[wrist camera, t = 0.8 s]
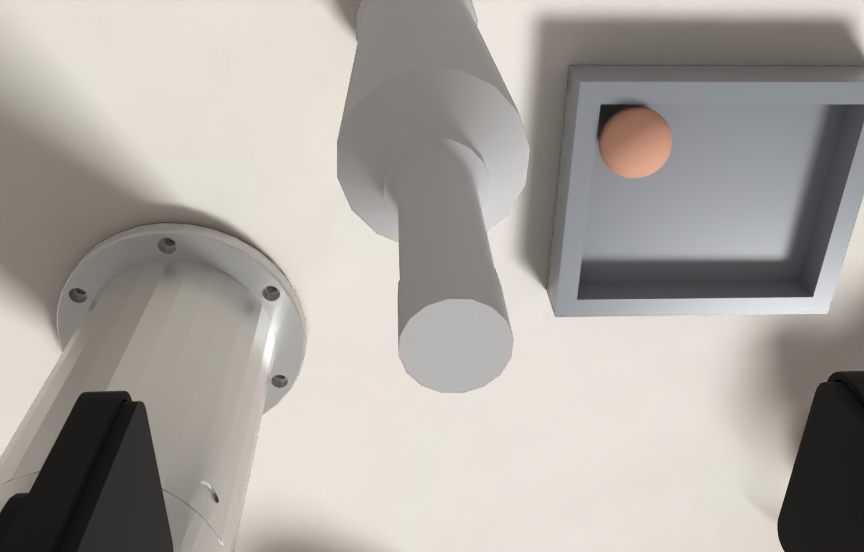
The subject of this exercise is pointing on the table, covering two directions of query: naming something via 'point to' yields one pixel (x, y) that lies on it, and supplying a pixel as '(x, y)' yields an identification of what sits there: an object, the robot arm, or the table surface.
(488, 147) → the bottle
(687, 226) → the tray
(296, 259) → the table surface
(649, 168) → the ball
